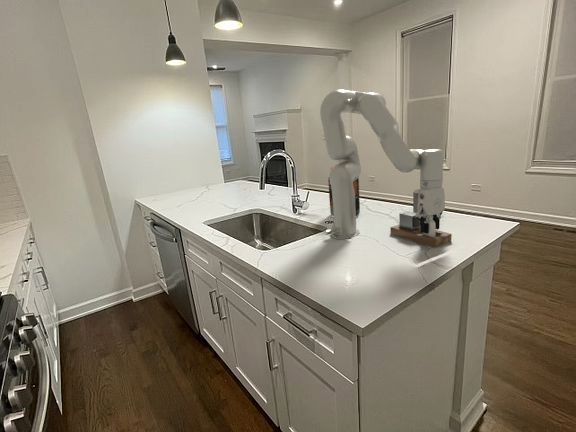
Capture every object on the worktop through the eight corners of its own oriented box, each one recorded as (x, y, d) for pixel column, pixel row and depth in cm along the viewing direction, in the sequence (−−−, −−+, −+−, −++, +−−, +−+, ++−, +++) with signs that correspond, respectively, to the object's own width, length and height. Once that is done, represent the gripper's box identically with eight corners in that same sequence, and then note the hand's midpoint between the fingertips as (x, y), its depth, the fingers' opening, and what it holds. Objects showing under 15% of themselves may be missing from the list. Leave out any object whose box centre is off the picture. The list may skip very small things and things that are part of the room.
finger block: (413, 238, 125) (414, 216, 123) (399, 234, 132) (399, 213, 129) (421, 235, 127) (422, 214, 125) (407, 231, 134) (407, 211, 131)
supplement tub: (338, 210, 181) (336, 164, 174) (364, 212, 172) (363, 164, 165) (325, 217, 169) (321, 169, 162) (352, 220, 159) (350, 169, 153)
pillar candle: (430, 215, 156) (430, 185, 152) (438, 220, 146) (439, 188, 142) (410, 217, 156) (409, 187, 152) (417, 222, 147) (417, 191, 143)
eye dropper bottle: (435, 238, 123) (435, 208, 120) (435, 243, 118) (435, 212, 115) (422, 237, 125) (423, 208, 122) (422, 242, 120) (422, 212, 117)
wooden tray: (434, 250, 115) (434, 240, 114) (390, 236, 133) (390, 227, 132) (451, 243, 119) (451, 233, 118) (406, 231, 137) (406, 222, 136)
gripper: (423, 188, 109) (422, 238, 114) (455, 181, 116) (453, 227, 121) (406, 186, 115) (406, 233, 120) (437, 179, 123) (435, 223, 128)
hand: (429, 230), depth 121 cm, fingers open, 5 cm apart
